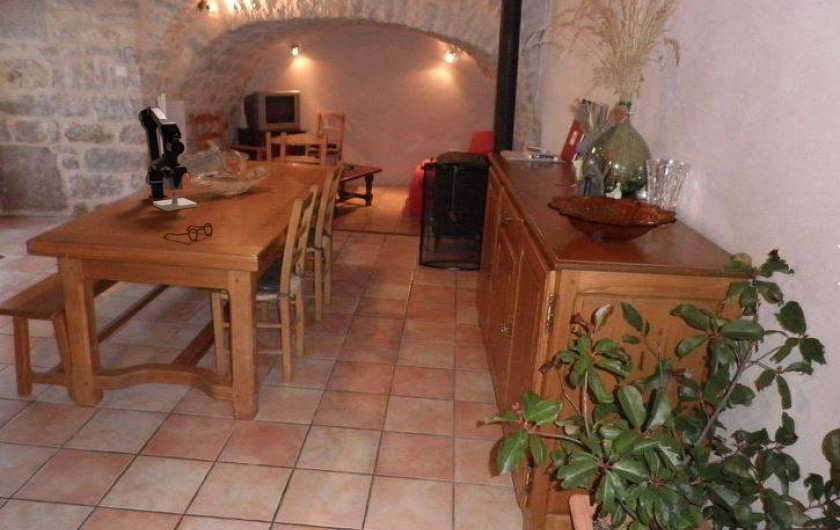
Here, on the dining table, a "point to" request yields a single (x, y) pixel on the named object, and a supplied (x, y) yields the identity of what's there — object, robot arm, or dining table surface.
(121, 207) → the dining table surface
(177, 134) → the robot arm
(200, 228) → the glasses
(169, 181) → the grey box housing
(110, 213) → the dining table surface
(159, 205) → the base plate
